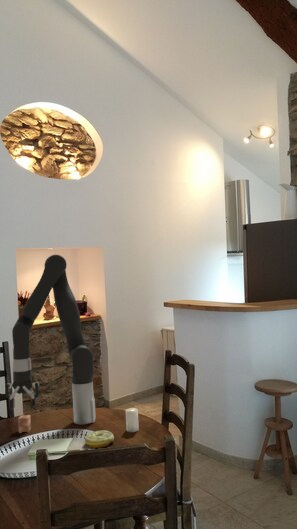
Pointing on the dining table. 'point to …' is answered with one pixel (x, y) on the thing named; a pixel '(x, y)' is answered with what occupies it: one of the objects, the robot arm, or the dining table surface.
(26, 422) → the terracotta block
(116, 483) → the dining table surface
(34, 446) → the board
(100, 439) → the decorated donut
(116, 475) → the dining table surface
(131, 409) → the white rounded cylinder
